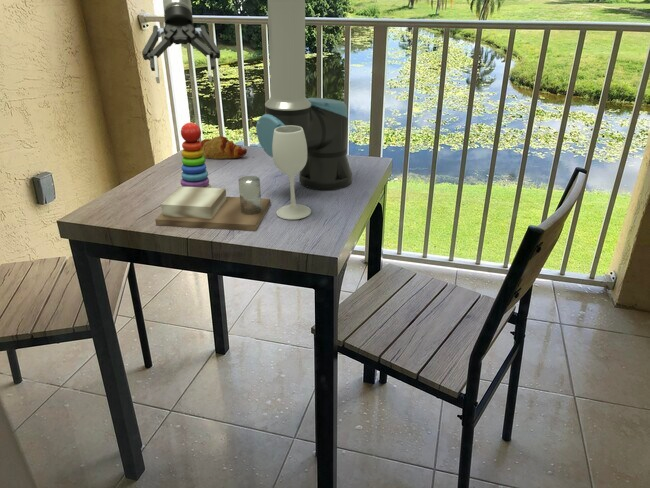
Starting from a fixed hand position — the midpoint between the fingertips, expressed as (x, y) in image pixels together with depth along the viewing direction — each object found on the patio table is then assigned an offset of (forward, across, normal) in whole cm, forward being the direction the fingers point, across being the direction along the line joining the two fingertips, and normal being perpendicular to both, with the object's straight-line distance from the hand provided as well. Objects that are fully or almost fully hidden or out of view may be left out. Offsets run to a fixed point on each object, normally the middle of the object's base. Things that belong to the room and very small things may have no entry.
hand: (184, 79), depth 136 cm
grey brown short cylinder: (+40, -13, +3) cm, 42 cm away
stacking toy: (+27, 0, -12) cm, 30 cm away
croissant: (+5, -8, -36) cm, 37 cm away
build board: (+39, -5, 0) cm, 39 cm away
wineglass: (+41, -23, +2) cm, 47 cm away
